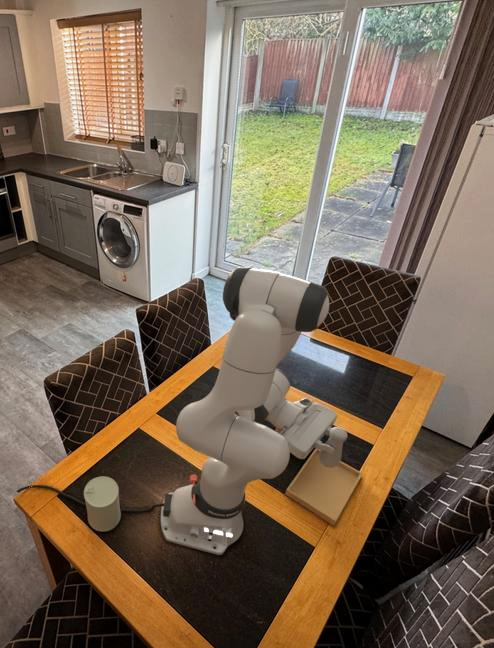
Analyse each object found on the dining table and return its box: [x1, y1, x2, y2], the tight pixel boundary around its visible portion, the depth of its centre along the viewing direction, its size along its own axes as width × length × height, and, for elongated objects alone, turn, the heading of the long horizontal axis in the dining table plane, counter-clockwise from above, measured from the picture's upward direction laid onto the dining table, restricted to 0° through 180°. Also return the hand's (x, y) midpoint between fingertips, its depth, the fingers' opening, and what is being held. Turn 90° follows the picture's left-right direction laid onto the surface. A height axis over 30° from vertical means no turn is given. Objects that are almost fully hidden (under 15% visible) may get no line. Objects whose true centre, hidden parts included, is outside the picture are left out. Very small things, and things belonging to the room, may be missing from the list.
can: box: [83, 475, 122, 532], centre depth 108 cm, size 9×9×12 cm
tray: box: [284, 448, 364, 527], centre depth 118 cm, size 20×14×2 cm
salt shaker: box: [319, 426, 348, 468], centre depth 112 cm, size 6×6×13 cm
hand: (337, 446), depth 110 cm, fingers closed on salt shaker, 3 cm apart
